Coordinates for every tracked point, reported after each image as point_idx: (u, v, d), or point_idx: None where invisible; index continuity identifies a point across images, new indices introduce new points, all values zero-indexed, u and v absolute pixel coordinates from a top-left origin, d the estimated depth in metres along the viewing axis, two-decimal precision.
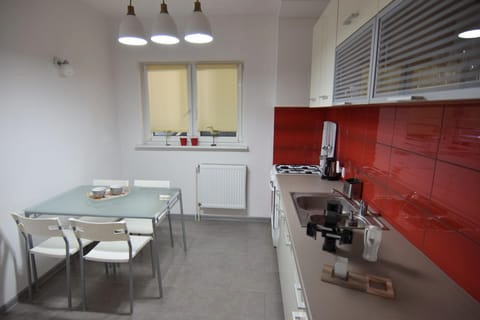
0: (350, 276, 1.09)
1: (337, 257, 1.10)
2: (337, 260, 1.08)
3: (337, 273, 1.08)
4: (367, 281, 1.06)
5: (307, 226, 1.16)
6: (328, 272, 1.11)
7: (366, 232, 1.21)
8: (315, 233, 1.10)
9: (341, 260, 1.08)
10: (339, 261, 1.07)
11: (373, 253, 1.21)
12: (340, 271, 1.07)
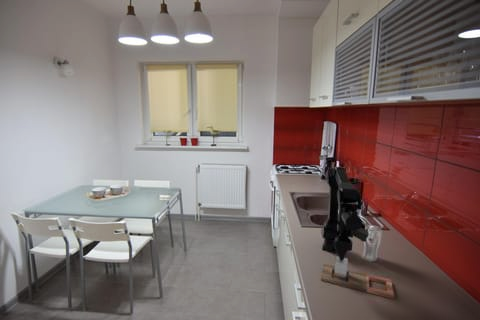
0: (350, 276, 1.09)
1: (337, 257, 1.10)
2: (337, 260, 1.08)
3: (337, 273, 1.08)
4: (367, 281, 1.06)
5: (346, 249, 0.98)
6: (328, 272, 1.11)
7: None
8: None
9: None
10: (339, 261, 1.07)
11: (373, 253, 1.21)
12: (340, 271, 1.07)
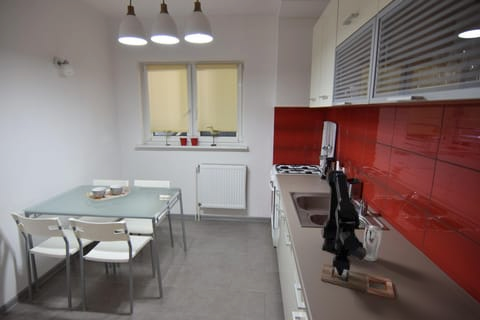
0: (350, 276, 1.09)
1: None
2: None
3: (337, 273, 1.08)
4: (367, 281, 1.06)
5: (344, 268, 0.99)
6: (328, 272, 1.11)
7: (366, 232, 1.21)
8: (343, 270, 1.06)
9: None
10: None
11: (373, 253, 1.21)
12: None
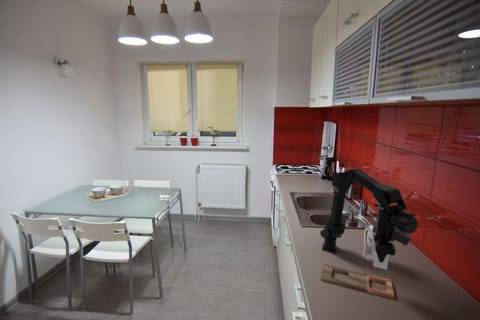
0: (350, 276, 1.09)
1: None
2: None
3: (378, 260, 1.00)
4: (367, 281, 1.06)
5: None
6: (328, 272, 1.11)
7: (366, 232, 1.21)
8: None
9: None
10: None
11: (373, 253, 1.21)
12: None
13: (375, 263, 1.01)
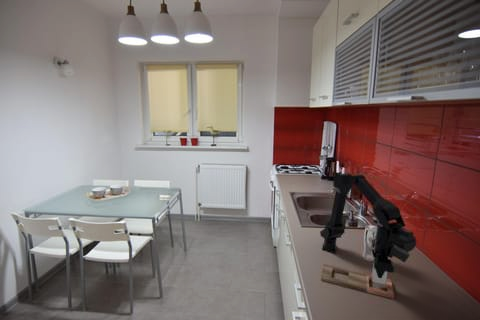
0: (350, 276, 1.09)
1: None
2: None
3: (376, 276, 1.02)
4: (367, 281, 1.06)
5: None
6: (328, 272, 1.11)
7: (366, 232, 1.21)
8: None
9: None
10: None
11: None
12: None
13: (374, 278, 1.02)
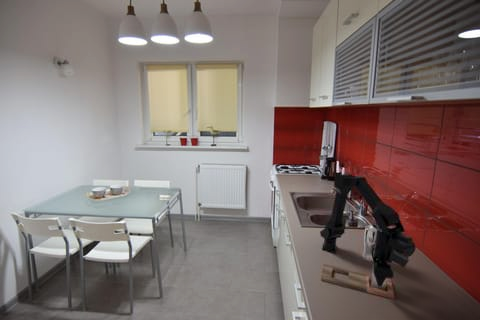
0: (350, 276, 1.09)
1: None
2: None
3: (375, 283, 1.02)
4: (367, 281, 1.06)
5: (387, 276, 0.94)
6: (328, 272, 1.11)
7: (366, 232, 1.21)
8: None
9: None
10: None
11: None
12: None
13: (373, 285, 1.03)
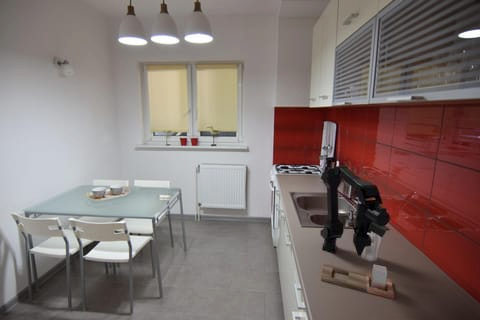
0: (350, 276, 1.09)
1: (375, 266, 1.04)
2: (375, 269, 1.03)
3: (375, 283, 1.02)
4: (367, 281, 1.06)
5: (365, 244, 0.99)
6: (328, 272, 1.11)
7: None
8: None
9: (380, 269, 1.02)
10: (378, 270, 1.02)
11: (373, 253, 1.21)
12: (378, 280, 1.02)
13: (373, 285, 1.03)
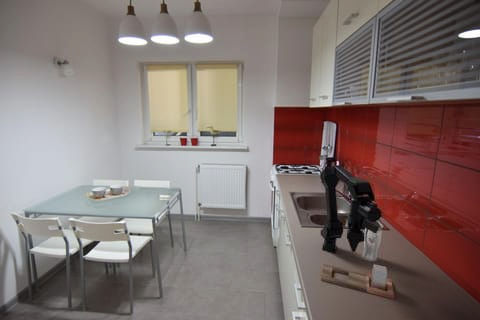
0: (350, 276, 1.09)
1: (375, 266, 1.04)
2: (375, 269, 1.03)
3: (375, 283, 1.02)
4: (367, 281, 1.06)
5: (358, 240, 1.01)
6: (328, 272, 1.11)
7: (366, 232, 1.21)
8: (356, 246, 1.06)
9: (380, 269, 1.02)
10: (378, 270, 1.02)
11: (373, 253, 1.21)
12: (378, 280, 1.02)
13: (373, 285, 1.03)
